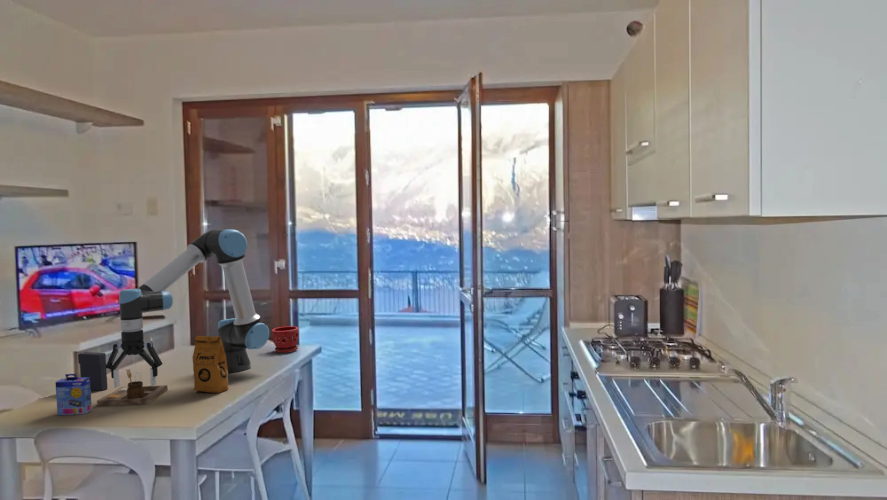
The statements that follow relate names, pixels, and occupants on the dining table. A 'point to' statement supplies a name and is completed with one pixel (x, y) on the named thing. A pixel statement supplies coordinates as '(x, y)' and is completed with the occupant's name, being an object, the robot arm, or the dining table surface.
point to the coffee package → (210, 365)
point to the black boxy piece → (94, 369)
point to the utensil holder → (135, 388)
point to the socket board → (121, 399)
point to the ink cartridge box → (73, 395)
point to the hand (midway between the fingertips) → (135, 386)
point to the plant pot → (285, 339)
